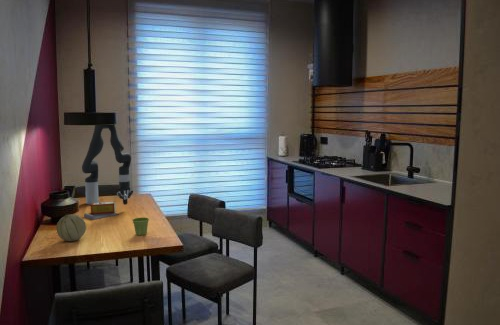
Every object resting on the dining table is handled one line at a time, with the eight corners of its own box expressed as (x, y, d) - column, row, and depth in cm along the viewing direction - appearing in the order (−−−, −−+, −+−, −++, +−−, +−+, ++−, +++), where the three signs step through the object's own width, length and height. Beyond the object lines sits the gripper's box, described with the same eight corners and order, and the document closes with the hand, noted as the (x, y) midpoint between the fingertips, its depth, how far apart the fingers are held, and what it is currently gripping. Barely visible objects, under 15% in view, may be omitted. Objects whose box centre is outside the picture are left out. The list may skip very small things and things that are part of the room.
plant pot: (141, 237, 231) (141, 222, 231) (129, 235, 236) (128, 220, 235) (153, 233, 240) (152, 218, 239) (140, 231, 244) (140, 216, 243)
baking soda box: (114, 203, 288) (89, 205, 285) (114, 212, 289) (90, 214, 285) (115, 201, 298) (92, 202, 294) (116, 210, 298) (92, 211, 295)
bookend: (84, 217, 279) (83, 213, 279) (109, 212, 294) (109, 208, 294) (93, 219, 272) (92, 216, 271) (119, 214, 286) (119, 211, 286)
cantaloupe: (92, 237, 231) (90, 211, 229) (75, 245, 217) (74, 217, 215) (68, 236, 234) (67, 210, 233) (51, 243, 220) (49, 216, 219)
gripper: (129, 179, 304) (130, 202, 306) (113, 181, 294) (114, 205, 296) (135, 180, 299) (136, 203, 301) (119, 182, 289) (119, 206, 291)
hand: (125, 204), depth 298 cm, fingers closed
